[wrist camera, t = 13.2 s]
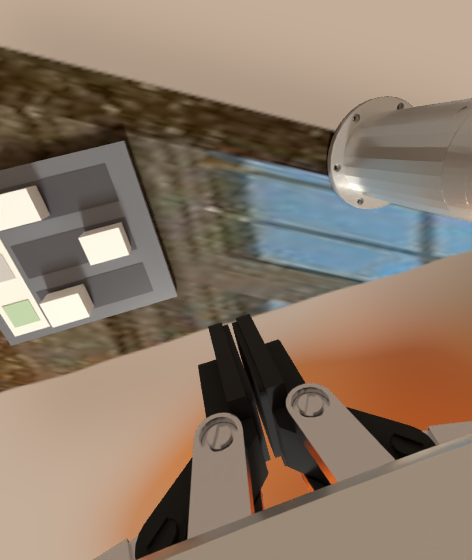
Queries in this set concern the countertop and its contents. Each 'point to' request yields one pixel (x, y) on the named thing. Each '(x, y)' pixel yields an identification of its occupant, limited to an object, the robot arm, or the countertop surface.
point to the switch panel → (66, 246)
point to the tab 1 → (21, 208)
